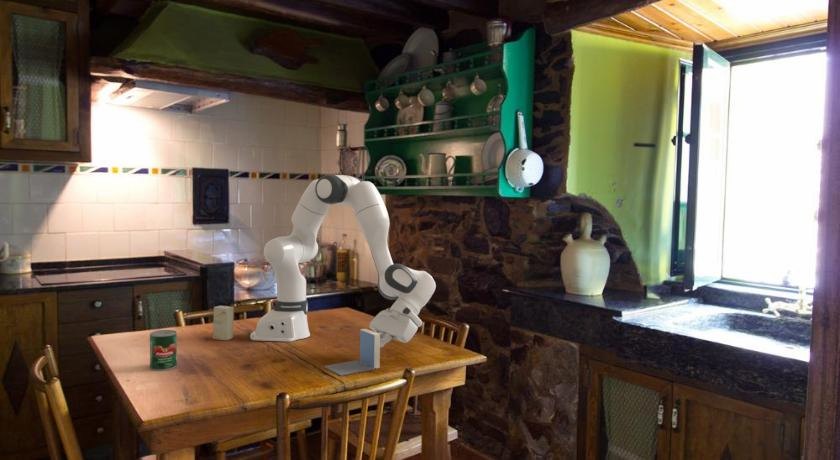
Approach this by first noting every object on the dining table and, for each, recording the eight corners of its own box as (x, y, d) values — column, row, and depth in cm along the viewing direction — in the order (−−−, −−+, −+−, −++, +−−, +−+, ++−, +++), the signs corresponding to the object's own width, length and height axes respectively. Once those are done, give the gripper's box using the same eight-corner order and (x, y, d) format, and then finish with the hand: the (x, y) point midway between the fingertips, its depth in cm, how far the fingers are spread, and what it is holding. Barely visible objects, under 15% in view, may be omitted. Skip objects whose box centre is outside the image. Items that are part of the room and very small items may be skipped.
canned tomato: (160, 372, 184) (159, 337, 183) (144, 367, 188) (144, 333, 188) (182, 366, 191) (182, 332, 190) (166, 362, 195) (166, 328, 194)
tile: (374, 368, 192) (374, 334, 191) (359, 362, 199) (360, 329, 198) (379, 367, 193) (380, 334, 192) (365, 361, 200) (365, 328, 200)
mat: (340, 376, 184) (340, 374, 183) (323, 367, 192) (323, 366, 192) (374, 369, 191) (374, 368, 191) (356, 361, 199) (356, 360, 199)
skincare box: (212, 339, 226) (212, 307, 225) (220, 336, 230) (220, 305, 229) (226, 340, 223) (226, 308, 223) (234, 338, 227) (234, 306, 227)
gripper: (380, 302, 210) (356, 333, 205) (415, 312, 193) (389, 346, 188) (391, 313, 213) (367, 344, 208) (425, 324, 196) (400, 358, 191)
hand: (377, 345), depth 198 cm, fingers closed
